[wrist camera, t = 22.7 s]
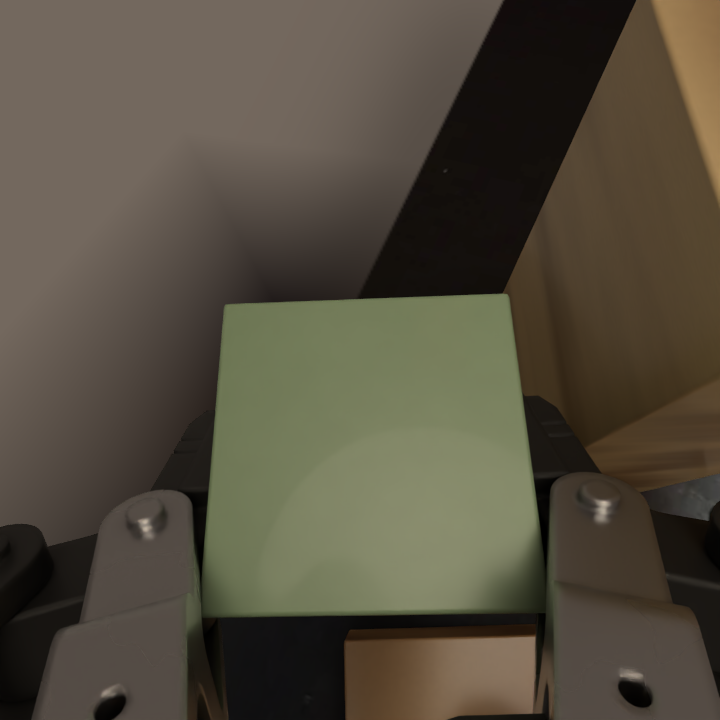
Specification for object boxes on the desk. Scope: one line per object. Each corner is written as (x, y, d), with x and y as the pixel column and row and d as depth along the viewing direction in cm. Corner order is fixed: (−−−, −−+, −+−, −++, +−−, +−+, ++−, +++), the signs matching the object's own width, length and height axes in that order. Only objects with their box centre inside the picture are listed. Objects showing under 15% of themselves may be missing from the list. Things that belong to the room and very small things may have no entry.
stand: (473, 506, 24) (771, 350, 6) (460, 384, 26) (645, -25, 8) (602, 501, 24) (1358, 323, 5) (579, 379, 26) (1065, -54, 8)
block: (290, 587, 13) (195, 618, 7) (295, 414, 15) (223, 302, 8) (469, 583, 13) (553, 613, 6) (454, 409, 15) (509, 291, 8)
